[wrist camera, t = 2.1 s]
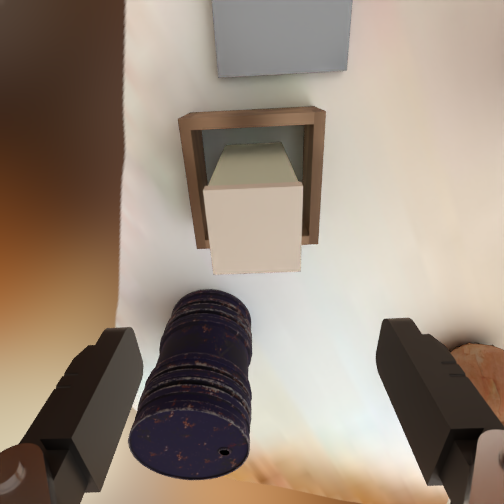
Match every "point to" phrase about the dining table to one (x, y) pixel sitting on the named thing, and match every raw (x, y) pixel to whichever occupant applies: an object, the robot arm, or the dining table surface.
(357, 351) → the dining table surface
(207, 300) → the dark blue cylinder
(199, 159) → the crate
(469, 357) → the onion
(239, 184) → the tea tin
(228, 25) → the blue-grey square panel
